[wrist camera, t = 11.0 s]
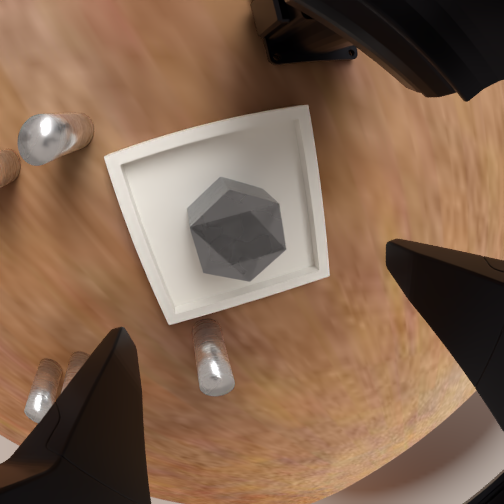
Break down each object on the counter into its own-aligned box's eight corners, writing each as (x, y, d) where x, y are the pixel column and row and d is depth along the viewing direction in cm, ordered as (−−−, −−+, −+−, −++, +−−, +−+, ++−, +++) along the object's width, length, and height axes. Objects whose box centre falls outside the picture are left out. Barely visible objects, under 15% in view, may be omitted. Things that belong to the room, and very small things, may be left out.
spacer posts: (148, 85, 16) (135, 72, 10) (224, 336, 25) (238, 390, 20) (-54, 189, 14) (-99, 215, 8) (49, 377, 23) (36, 424, 18)
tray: (299, 105, 18) (308, 104, 17) (321, 266, 24) (329, 275, 23) (109, 153, 17) (104, 156, 16) (168, 313, 23) (169, 325, 21)
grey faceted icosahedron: (258, 167, 19) (275, 178, 16) (272, 246, 22) (289, 270, 19) (181, 186, 18) (182, 202, 15) (204, 266, 21) (209, 293, 18)
